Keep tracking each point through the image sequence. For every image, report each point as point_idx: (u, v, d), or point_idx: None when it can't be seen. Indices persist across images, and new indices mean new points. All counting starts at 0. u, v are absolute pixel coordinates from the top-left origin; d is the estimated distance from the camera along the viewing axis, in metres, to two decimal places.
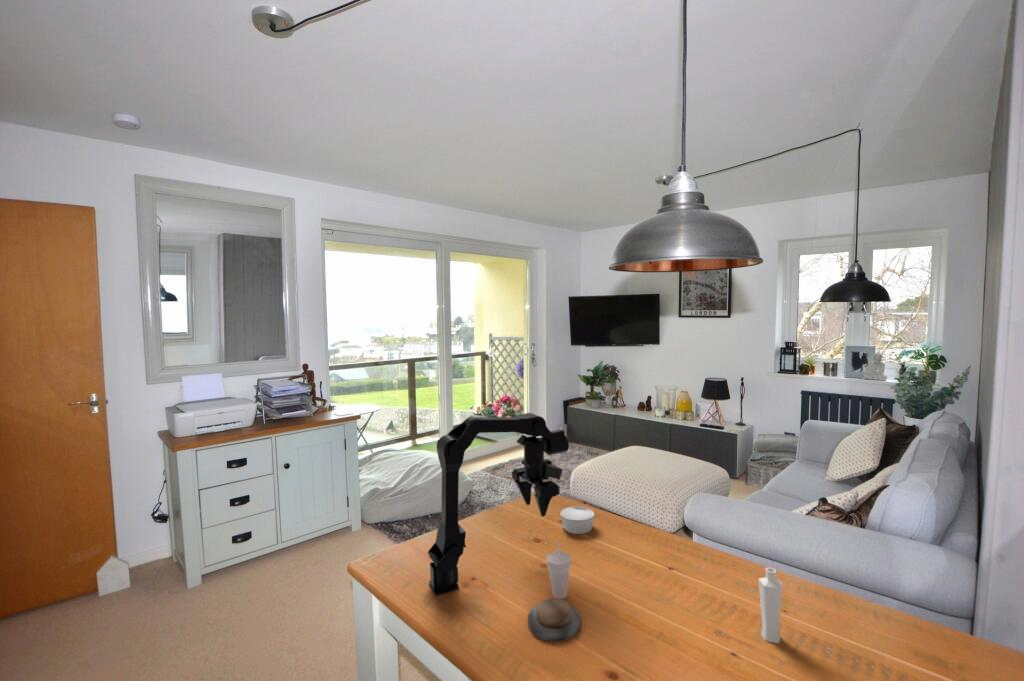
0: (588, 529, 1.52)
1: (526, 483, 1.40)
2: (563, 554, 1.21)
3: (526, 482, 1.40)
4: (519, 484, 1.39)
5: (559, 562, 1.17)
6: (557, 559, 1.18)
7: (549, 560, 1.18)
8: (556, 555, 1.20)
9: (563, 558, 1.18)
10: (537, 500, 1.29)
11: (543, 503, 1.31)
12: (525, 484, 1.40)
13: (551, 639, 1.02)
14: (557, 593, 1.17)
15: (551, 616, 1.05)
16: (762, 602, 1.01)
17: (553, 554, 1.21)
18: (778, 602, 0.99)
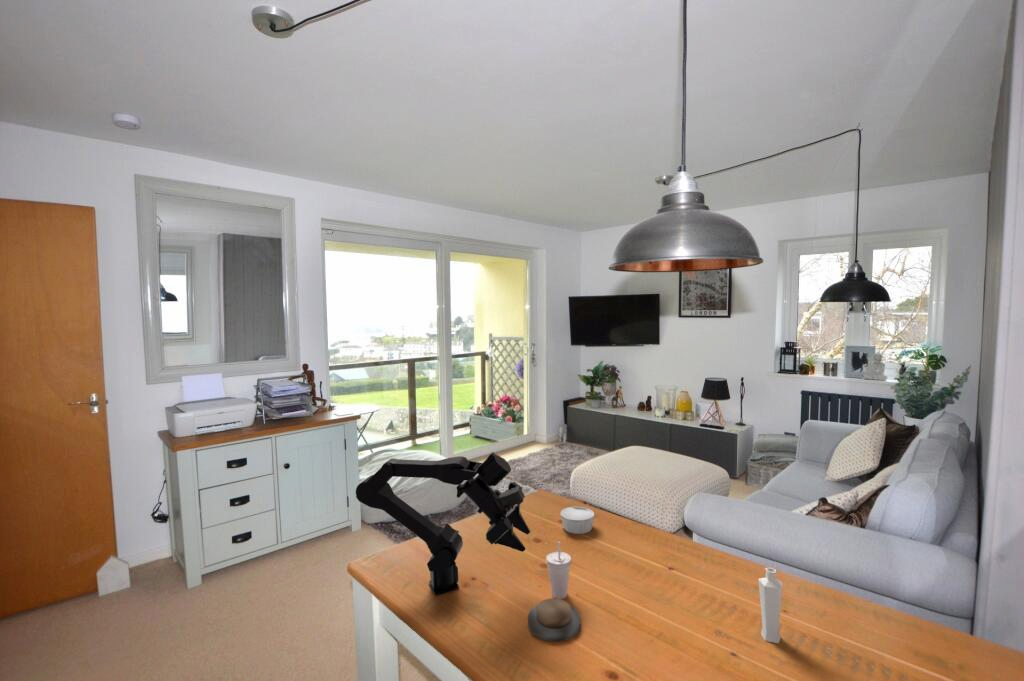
0: (588, 529, 1.52)
1: (511, 515, 1.26)
2: (563, 554, 1.21)
3: (512, 514, 1.26)
4: None
5: (559, 562, 1.17)
6: (557, 559, 1.18)
7: (549, 560, 1.18)
8: (556, 555, 1.20)
9: (563, 558, 1.18)
10: None
11: (510, 541, 1.15)
12: (511, 516, 1.26)
13: (551, 639, 1.02)
14: (557, 593, 1.17)
15: (551, 616, 1.05)
16: (762, 602, 1.01)
17: (553, 554, 1.21)
18: (778, 602, 0.99)
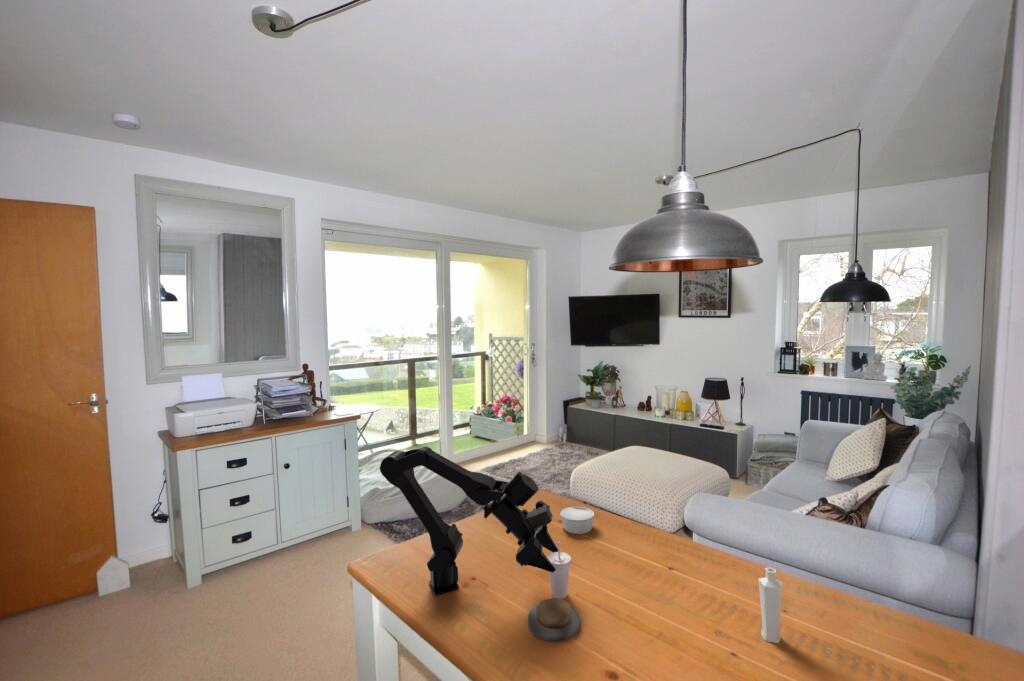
0: (588, 529, 1.52)
1: (539, 534, 1.25)
2: (563, 554, 1.21)
3: (539, 533, 1.25)
4: None
5: (559, 562, 1.17)
6: (557, 559, 1.18)
7: (549, 560, 1.18)
8: (556, 555, 1.20)
9: (563, 558, 1.18)
10: None
11: (539, 562, 1.14)
12: (539, 535, 1.25)
13: (551, 639, 1.02)
14: (557, 593, 1.17)
15: (551, 616, 1.05)
16: (762, 602, 1.01)
17: (553, 554, 1.21)
18: (778, 602, 0.99)
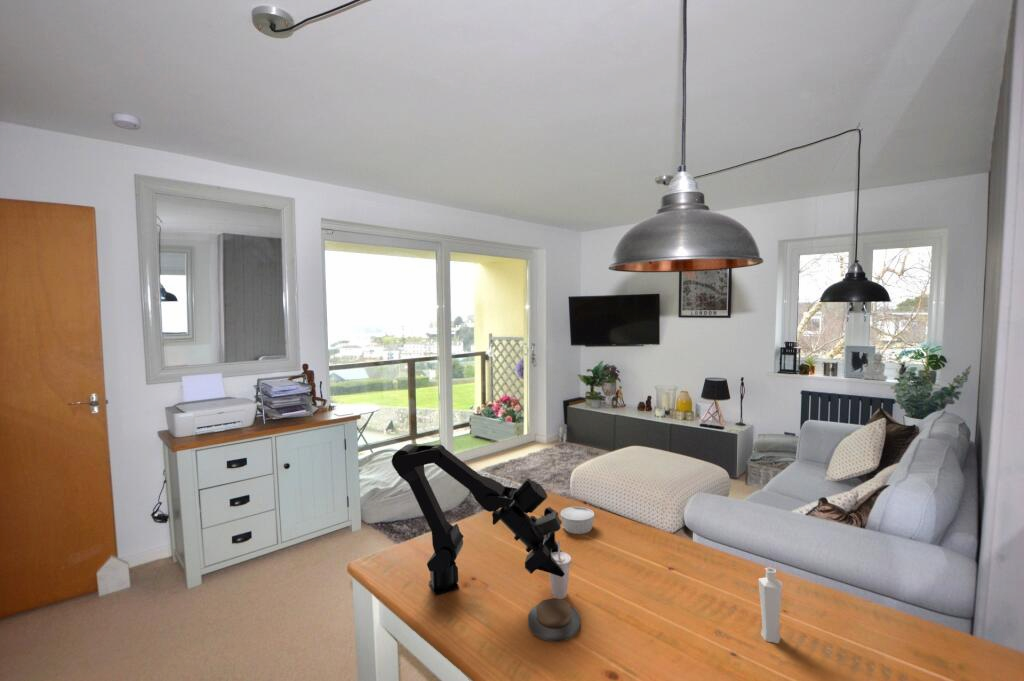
0: (588, 529, 1.52)
1: (546, 543, 1.23)
2: (563, 554, 1.21)
3: (547, 542, 1.23)
4: None
5: (559, 562, 1.17)
6: (557, 559, 1.18)
7: None
8: (556, 555, 1.20)
9: (563, 558, 1.18)
10: None
11: (549, 567, 1.15)
12: (546, 544, 1.23)
13: (551, 639, 1.02)
14: (557, 593, 1.17)
15: (551, 616, 1.05)
16: (762, 602, 1.01)
17: (553, 554, 1.21)
18: (778, 602, 0.99)
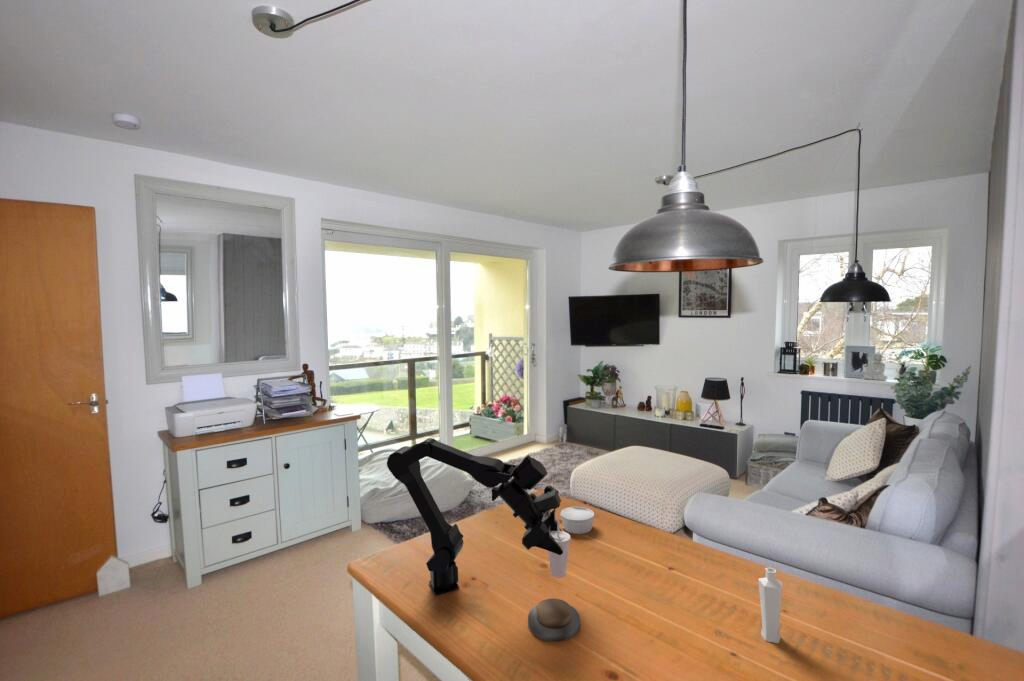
0: (588, 529, 1.52)
1: (546, 521, 1.21)
2: (563, 533, 1.19)
3: (547, 521, 1.21)
4: None
5: (558, 540, 1.15)
6: (556, 537, 1.16)
7: None
8: (555, 533, 1.18)
9: (562, 536, 1.16)
10: None
11: (547, 544, 1.13)
12: (546, 523, 1.21)
13: (551, 639, 1.02)
14: (556, 572, 1.16)
15: (551, 616, 1.05)
16: (762, 602, 1.01)
17: (553, 533, 1.19)
18: (778, 602, 0.99)
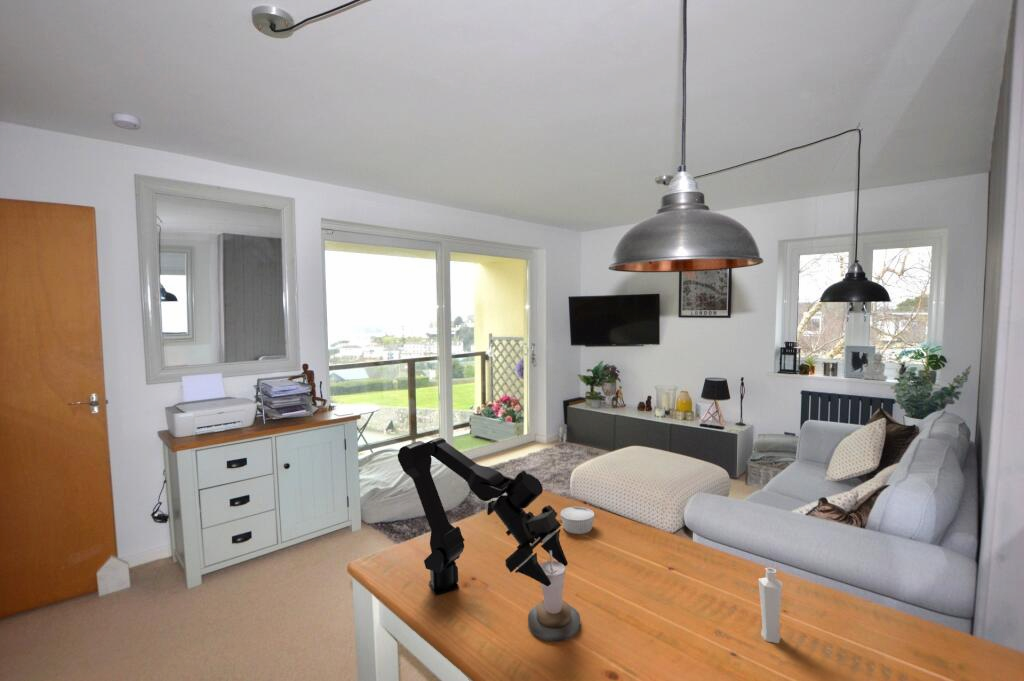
0: (588, 529, 1.52)
1: (548, 541, 1.13)
2: (559, 565, 1.09)
3: (549, 541, 1.13)
4: (543, 546, 1.14)
5: (549, 573, 1.06)
6: (548, 569, 1.07)
7: None
8: None
9: (555, 569, 1.07)
10: None
11: (533, 572, 1.03)
12: (548, 543, 1.13)
13: (551, 639, 1.02)
14: (548, 606, 1.06)
15: (551, 616, 1.05)
16: (762, 602, 1.01)
17: (548, 563, 1.10)
18: (778, 602, 0.99)
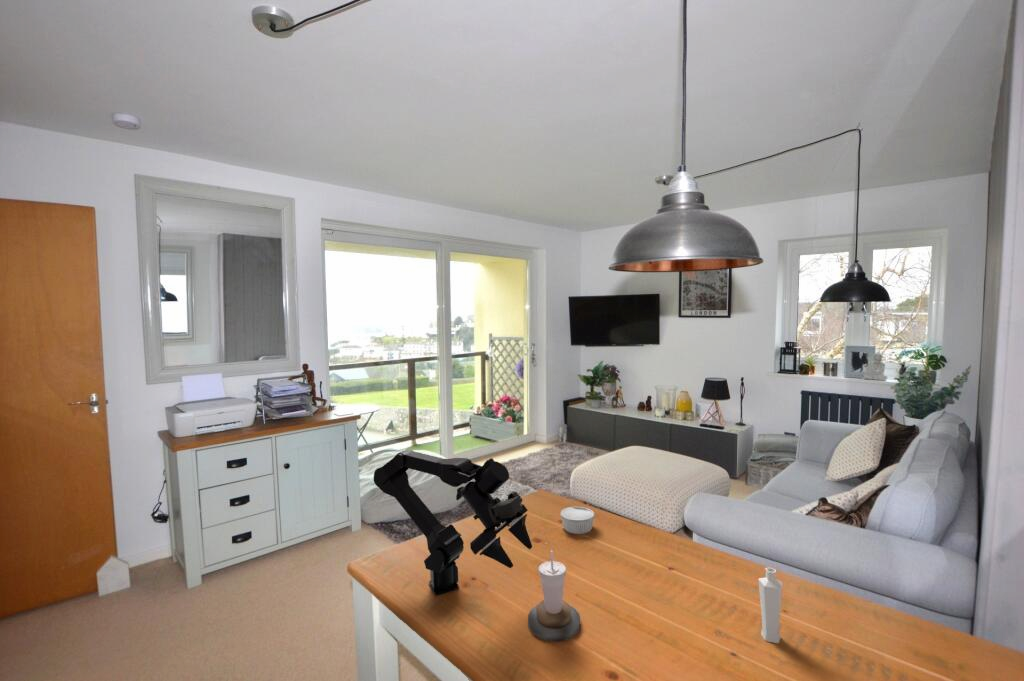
0: (588, 529, 1.52)
1: (515, 525, 1.19)
2: (560, 565, 1.09)
3: (515, 525, 1.19)
4: (510, 530, 1.20)
5: (549, 573, 1.05)
6: (549, 569, 1.07)
7: (540, 569, 1.07)
8: (551, 565, 1.09)
9: (556, 569, 1.07)
10: None
11: (496, 555, 1.09)
12: (515, 527, 1.19)
13: (551, 639, 1.02)
14: (548, 606, 1.06)
15: (551, 616, 1.05)
16: (762, 602, 1.01)
17: (549, 563, 1.10)
18: (778, 602, 0.99)
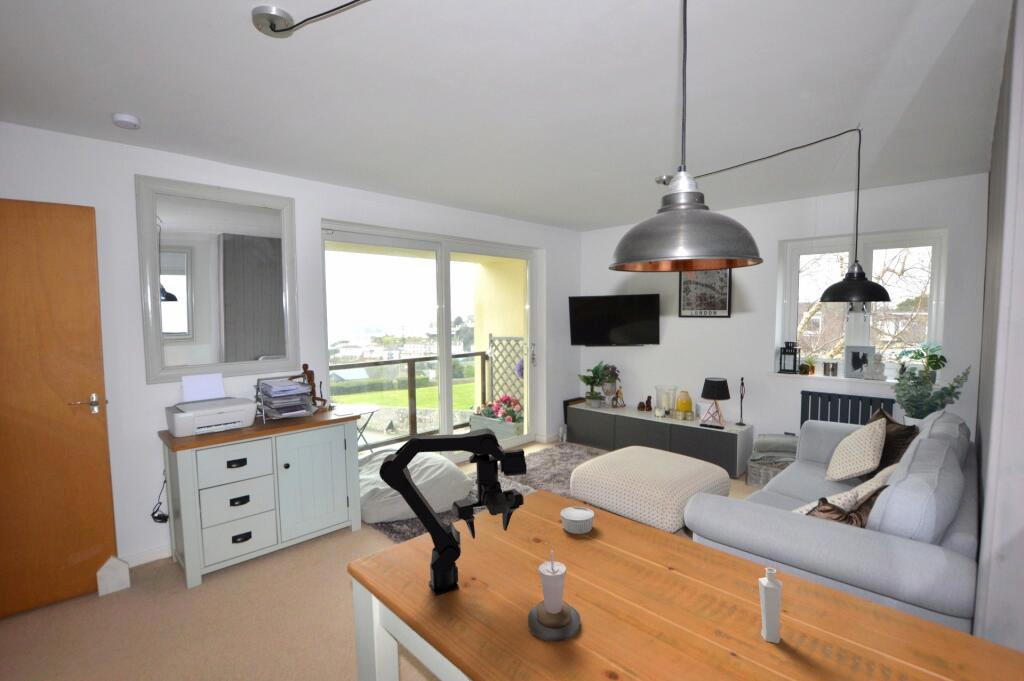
0: (588, 529, 1.52)
1: None
2: (560, 565, 1.09)
3: None
4: None
5: (550, 573, 1.06)
6: (549, 569, 1.07)
7: (541, 569, 1.07)
8: None
9: (556, 569, 1.07)
10: None
11: (468, 523, 1.23)
12: None
13: (551, 639, 1.02)
14: (548, 606, 1.06)
15: (551, 616, 1.05)
16: (762, 602, 1.01)
17: (549, 563, 1.10)
18: (778, 602, 0.99)
